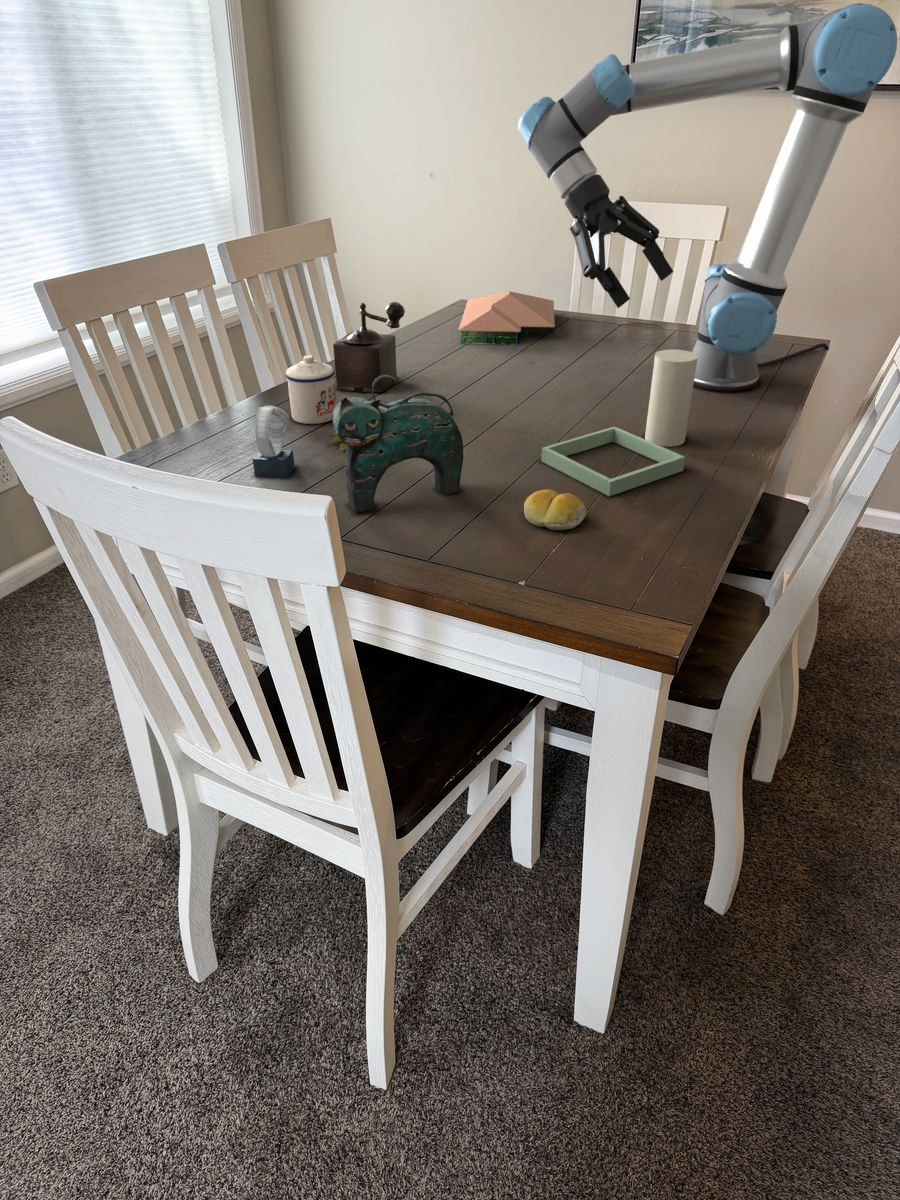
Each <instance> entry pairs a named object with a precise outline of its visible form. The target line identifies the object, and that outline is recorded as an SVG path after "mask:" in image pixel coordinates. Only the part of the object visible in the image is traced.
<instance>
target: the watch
mask: <svg viewBox="0 0 900 1200" xmlns="http://www.w3.org/2000/svg"><path fill="white" fill-rule="evenodd" d="M289 420H290V417H289V415H288V413H287V412H286V411H285V410H284V409H282V408H281V407H278V406H276V405H264V406H261V407H260V406H259V407H258V409H257V411H256V415H255V421H254V431H255V432H254V433H255V435H254V436H255V444H256V447H257V449H258V451H257V452H256V454H255V455H254V456H253V458H252V463H253V464H252V466H253V472H254V477H257V478H261V477H262V478H281V479H284V478H285V479H288V478H289V476H291V473H292V472H293V471H294V469H295V468H296V465H295V457H294V449H283V447H284V442H285V434H286V433H287V427H288V422H289Z"/></svg>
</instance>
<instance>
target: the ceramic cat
mask: <svg viewBox="0 0 900 1200" xmlns="http://www.w3.org/2000/svg"><path fill="white" fill-rule="evenodd" d="M381 378H390V379H392V380H393V381H394V383H395V384H397V383H398V380H397V378H396V379H395V378H393V377H392V376H389V375H382V376H379V377H378V378H376V379H375V380H374V382H373V385H372V392H371V397H372V399H373V400H371V401H370V400H367V399H365V398H362V397H357V396H349V397H346V396H345V397H344V398H343V399H342V400H341V401H340V402H338V403H336V407H335V409H334V412H333V420H332V427H333V429H334V432H336V433H337V435H338V437H339V438H340V440H339V441H341V443H342V442H343V443H345V444H346V445H347V446H346V449H345V467H344V470H345V477H346V492H347V497H348V498H347V499H348V504H349V506H350V508H351V510H353V512H354V513H355V514H362V513H366V512H371V511H373V510H374V507H375V505H374V503H375V497H376V492H377V488H378V485H379V484H380V481H381V479H382V478H383V476H384V474H385V473H386V471H387V470H388V469H389V468H390V467H392V466H394V465H397V464H399V463H401V462H403V461H406V460H411V459H422V460H425V461H427V462H429V464H431V465H432V466H433V471H434V487H435V488H436V490H437V491H438V492H439V493H440V494H442V495H451V494H454V493H458V492H459V491H460V485H461V476H462V471H463V464H464V459H465V458H464V457H465V456H464V455H465V454H464V441H463V437H462V433H461V431H460V429H459V426H458V425H457V422H456V420H455V419H454V417H453V416H454V410H453V407H452V405H451V404H452V403H450V401H449V400H448V399H447V398H446V396H443V394H440V393H437V392H418V393H414V394H411V395H408V396H407V397H405V398H403V399H399V400H394V401H391V402H387V403H386V404H385V403H381V399H377V398H376V396H375V392H374V385H375V383H376V382H377V381H378V380H379V379H381ZM422 396H424V397H425V396H426V397H437V398H439V399H440V400H442V401H443V402H444V403H446V404H447V406H448V408H449V411H450V412H449V411H448V410H446V409H445V408H444V407H442V406H441V405H439V404H438V403H436V402H435V401H432V400H429V399H424V398H417V397H422Z"/></svg>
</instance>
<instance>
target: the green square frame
mask: <svg viewBox="0 0 900 1200" xmlns="http://www.w3.org/2000/svg"><path fill="white" fill-rule="evenodd" d="M610 443H615V444H617V445H619V446H621V447H624V448H626V449H628V450H630V451H633V452H636V453H637V454H639V455H642V456H644V457H646V458H649V459H650V460H652V461H655V462H657V463H654V464H652V465H648V466H646V467H642V468H639V469H637V470H634V471H630V472H627V473H624V474H622V475H619V476H616V477H612V478H609V477H608V476H606V475H604V474H602V473H600V472H597V471H596V470H593V469H591V468H589V467H587V466H586V465H583V464H581V463H580V462H577V461H575V460H573V459H571V458H569V457H568V456H571V455H574V454H578V453H581V452H584V451H588V450H591V449H594V448H597V447H600V446H604V445H608V444H610ZM685 459H686V456H684V455H682V454H679V453H678V452H675V451H673V450H671V449H668V448H667V447H665V446H659V445H657V444H654V443H652V442H650V441H647V440H646V439H645V438H643V437H640V436H638V435H635V434H634V433H631V432H629V431H627V430H624V429H621V428H619V427H616V426H611V427H608V428H605V429H601V430H598V431H594V432H590V433H587V434H584V435H580V436H578V437H574V438H571V439H568V440H567V439H566V440H564V441H560V442H557V443H553V444H550V445H547V446H543V447H541V463H544V464H546V465H547V466H549V467H552V468H553V469H555V470H557V471H559V472H561V473H563V474H565V475H567V476H569V477H571V478H573V479H574V480H577V481H578V482H581V483H582V484H584V485H586V486H588V487H590V488H591V489H594V490H596V491H598V492H599V493H601V494H604V495H606V496H607V497H612V496H614V495H617V494H621V493H623V492H626V491H629V490H632V489H635V488H637V487H641V486H644V485H646V484H649V483H653V482H654V481H657V480H660V479H663V478H666V477H670V476H672V475H675V474H678V473H680V472H683V471H684V467H685V461H686V460H685Z"/></svg>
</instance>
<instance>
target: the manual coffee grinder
mask: <svg viewBox="0 0 900 1200" xmlns="http://www.w3.org/2000/svg"><path fill="white" fill-rule="evenodd" d="M366 308H367V304H366V303H364V302H361V303H360V304H359V309H360V310H359V312H358V313H359V314H360V321H361V327H360V329H357V330H355V331H351V332H349V333H347V334H346V335H344V336H343V337H342V338H340V339H338V340H337V341H336V342H334V343H333V345H332V347H333V359H334V369H335V370H334V372H335V380H336V382H335V383H336V390H339V391H348V392H349V391H350V392H360V393H372V385H373V382H374V380H375V379H376V378H378V377H379V376H382V375H389V376H392V377H393V378H395V379H396V380H397V378H398V371H397V349H396V345H397V344H396V335H395V334H385V333H378V332H377V331H375V330H372V329H369V328H367V318H369V319H371V320H374V321H378V322H382V323H385V324H386V325H385V326H386V327H389V328H390V329H391V330H393V329H399V328H400V327H401V325H400V320H401V319H402V318H403V317H404V316H405V312H406V309H405V307H404V305H402V304H401V303H399V302H397V301H391V302H390V303H389V304H387V305H386V306H385V313H386V315H387V317H388V318H386V317H383V316H379V315H375V314H372V313H370V312H367V309H366ZM394 383H395V382H394V381H393V380H392V379H390V378H381V379H379V380H378V381H377V382H376V383H375V385H374V393H383V392H384V391H386V390H388V389H389V388H390V387H391V386H392V385H393V384H394Z"/></svg>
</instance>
